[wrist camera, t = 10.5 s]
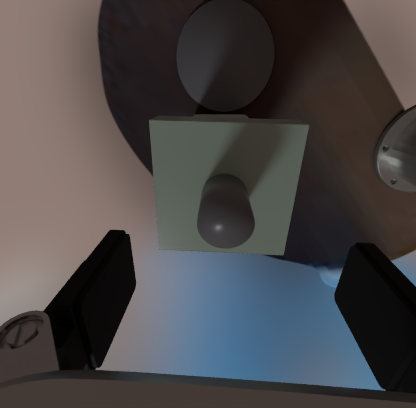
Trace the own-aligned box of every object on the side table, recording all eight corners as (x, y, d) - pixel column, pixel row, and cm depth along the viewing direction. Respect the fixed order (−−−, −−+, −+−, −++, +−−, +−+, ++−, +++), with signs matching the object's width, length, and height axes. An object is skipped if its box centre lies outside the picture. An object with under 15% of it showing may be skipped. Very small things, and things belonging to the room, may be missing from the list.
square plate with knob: (296, 119, 17) (338, 137, 11) (276, 236, 21) (298, 294, 15) (158, 115, 17) (126, 130, 11) (165, 231, 21) (145, 287, 16)
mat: (280, 0, 27) (281, -2, 27) (266, 112, 33) (267, 113, 32) (175, -2, 28) (174, -4, 27) (178, 109, 33) (177, 110, 32)
